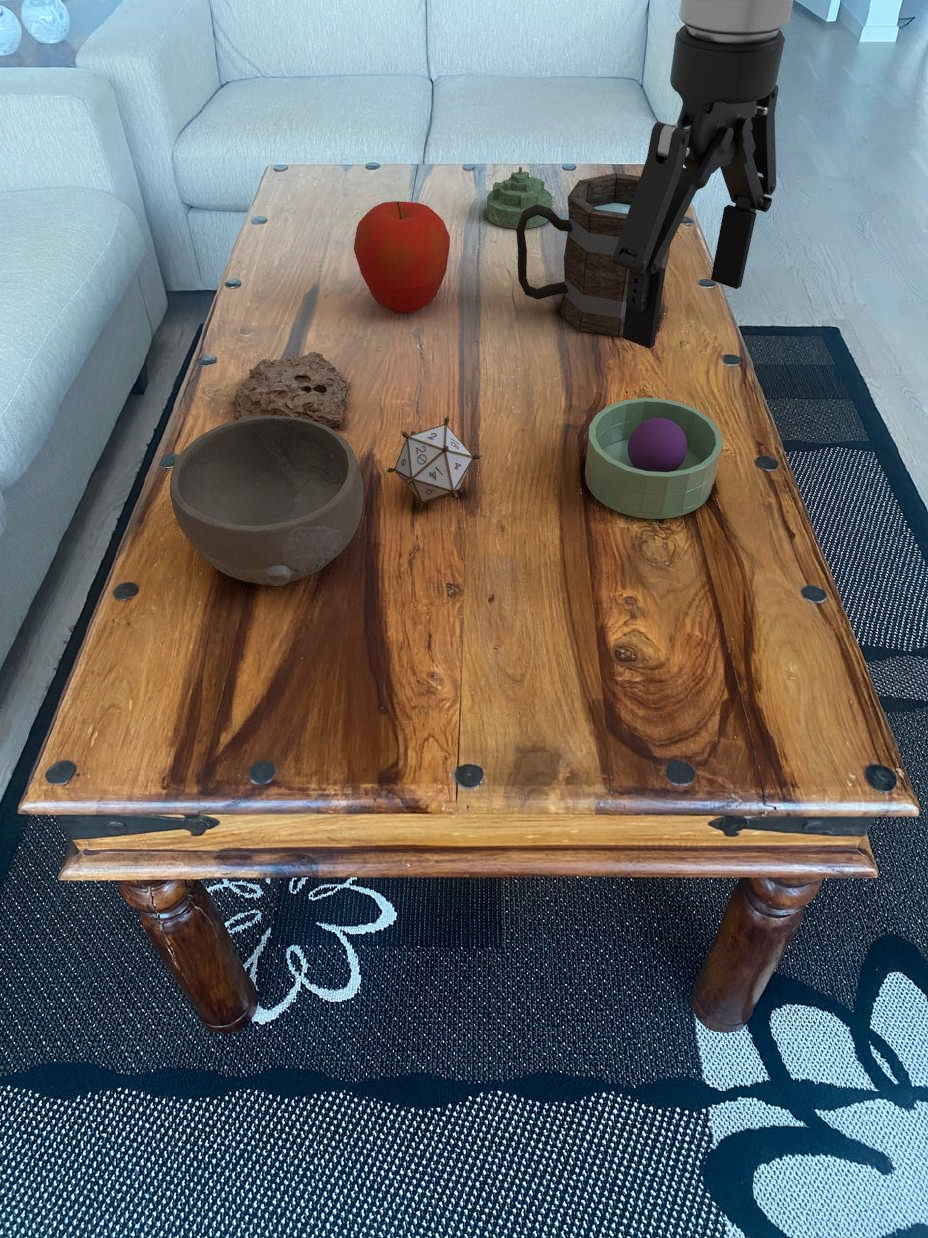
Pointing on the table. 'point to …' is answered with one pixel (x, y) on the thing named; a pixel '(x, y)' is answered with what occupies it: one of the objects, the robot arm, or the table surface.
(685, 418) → the green bowl
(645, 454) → the plum ball
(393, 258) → the apple
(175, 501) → the bowl
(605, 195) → the mug
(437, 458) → the game die
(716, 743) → the table surface
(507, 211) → the decorative artifact
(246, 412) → the rock
